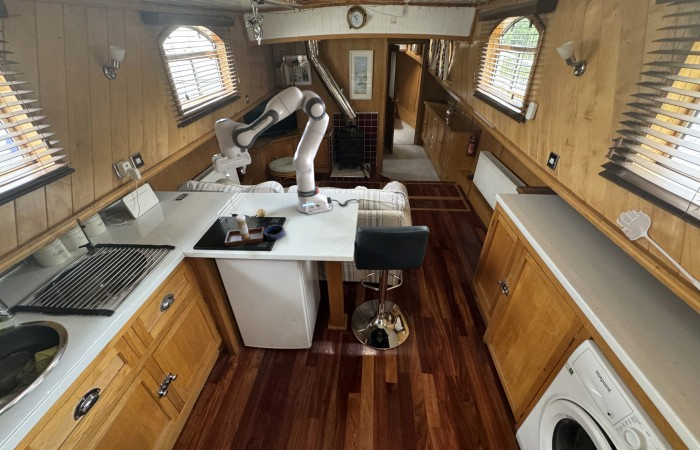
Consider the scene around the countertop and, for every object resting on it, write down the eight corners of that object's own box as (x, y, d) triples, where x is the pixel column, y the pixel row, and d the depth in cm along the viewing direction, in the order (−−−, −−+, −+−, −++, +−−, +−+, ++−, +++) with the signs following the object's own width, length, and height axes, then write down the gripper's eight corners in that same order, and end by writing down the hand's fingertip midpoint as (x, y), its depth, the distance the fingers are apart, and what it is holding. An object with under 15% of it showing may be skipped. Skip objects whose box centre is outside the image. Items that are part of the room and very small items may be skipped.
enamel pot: (284, 227, 169) (283, 223, 167) (284, 240, 158) (283, 235, 156) (265, 229, 167) (264, 225, 166) (264, 242, 156) (263, 237, 154)
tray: (264, 230, 166) (264, 226, 165) (263, 241, 157) (262, 238, 155) (229, 234, 164) (228, 230, 162) (225, 246, 154) (224, 242, 152)
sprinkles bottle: (240, 236, 160) (234, 215, 153) (248, 233, 163) (243, 213, 155) (242, 240, 157) (236, 219, 150) (250, 237, 159) (245, 216, 152)
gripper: (213, 157, 142) (220, 182, 149) (249, 147, 155) (254, 171, 162) (207, 154, 145) (215, 180, 153) (243, 145, 158) (248, 169, 166)
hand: (235, 175), depth 157 cm, fingers open, 8 cm apart
